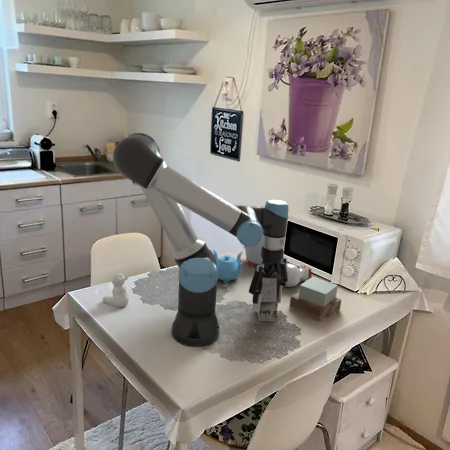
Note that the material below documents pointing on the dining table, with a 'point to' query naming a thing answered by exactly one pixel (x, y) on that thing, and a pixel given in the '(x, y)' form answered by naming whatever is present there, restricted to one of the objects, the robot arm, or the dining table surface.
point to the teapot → (228, 267)
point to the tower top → (318, 291)
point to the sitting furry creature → (118, 292)
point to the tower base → (314, 308)
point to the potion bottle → (297, 274)
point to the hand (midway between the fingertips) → (266, 306)
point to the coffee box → (269, 297)
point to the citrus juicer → (254, 254)
